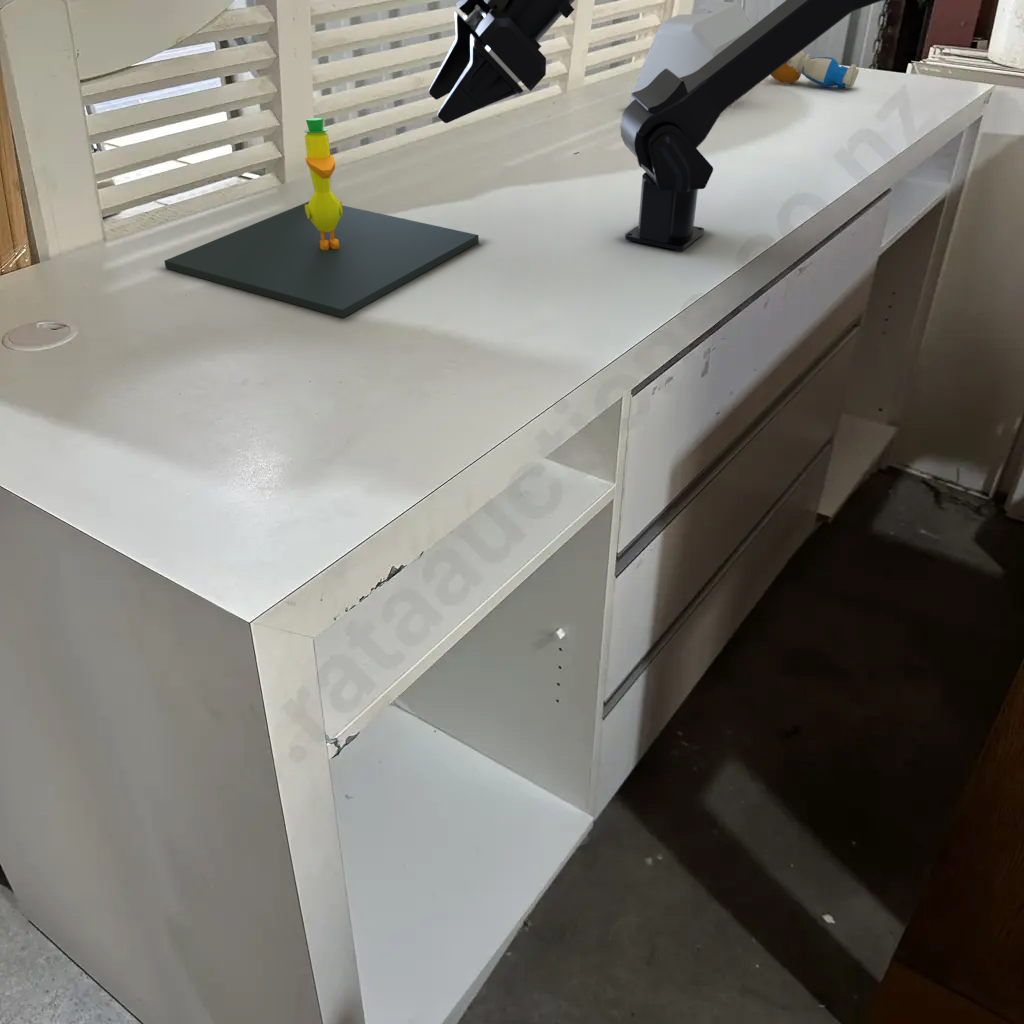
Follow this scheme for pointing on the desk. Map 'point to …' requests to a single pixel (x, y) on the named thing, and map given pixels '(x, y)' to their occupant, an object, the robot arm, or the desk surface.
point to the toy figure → (321, 183)
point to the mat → (324, 258)
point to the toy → (816, 71)
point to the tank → (692, 41)
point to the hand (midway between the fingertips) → (436, 107)
